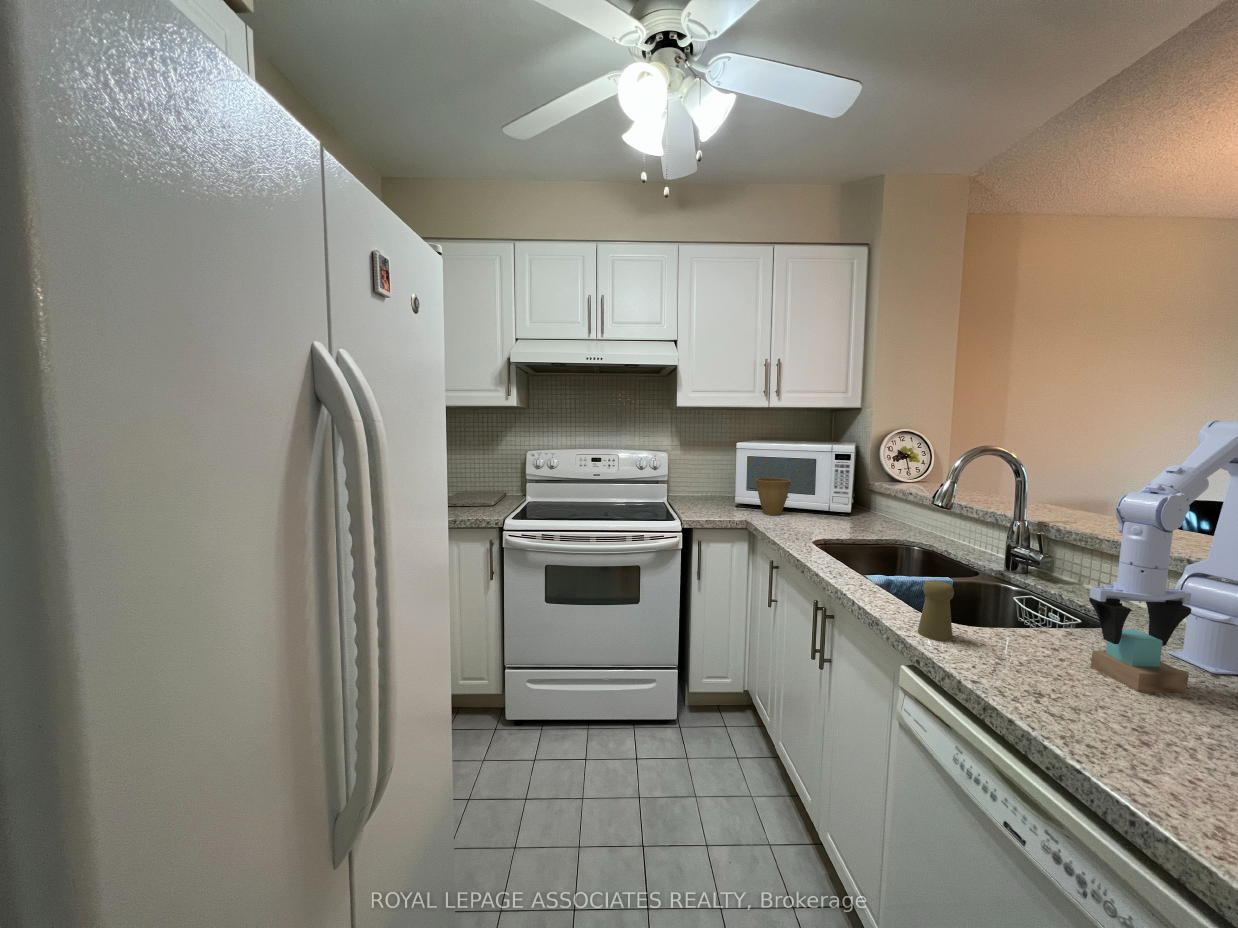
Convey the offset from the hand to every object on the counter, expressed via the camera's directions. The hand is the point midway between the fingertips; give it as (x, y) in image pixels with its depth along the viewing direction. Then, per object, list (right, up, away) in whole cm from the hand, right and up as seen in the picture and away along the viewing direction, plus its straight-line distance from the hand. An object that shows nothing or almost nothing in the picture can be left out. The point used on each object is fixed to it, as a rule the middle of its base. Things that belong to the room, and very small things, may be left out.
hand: (1134, 642), depth 85 cm
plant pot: (-18, +7, +144) cm, 145 cm away
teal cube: (0, -3, 0) cm, 3 cm away
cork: (-24, -5, +16) cm, 29 cm away
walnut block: (0, -7, 0) cm, 7 cm away
